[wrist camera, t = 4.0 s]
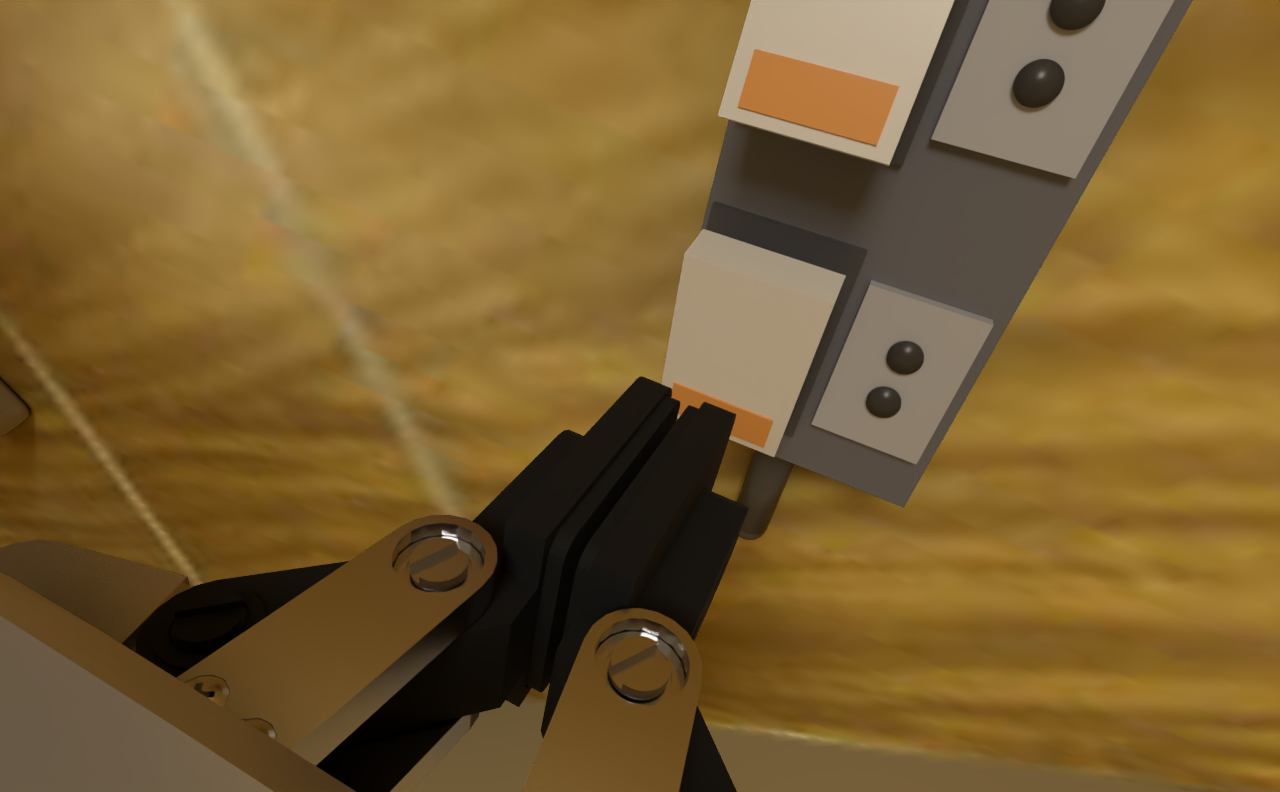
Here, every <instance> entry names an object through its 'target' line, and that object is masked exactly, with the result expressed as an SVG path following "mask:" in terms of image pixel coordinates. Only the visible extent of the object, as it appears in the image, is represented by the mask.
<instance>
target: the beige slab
mask: <svg viewBox="0 0 1280 792" xmlns="http://www.w3.org/2000/svg"><path fill="white" fill-rule="evenodd" d="M28 416H29V410H28V408H27V406H26V405H25V404H24V403H23V402H22V401H21V400H20V399H19V398H18V397H17V396H16V394H15V393H14V392H13V391H12V390H11V389H10V388H9V387H8V386H7V385H6V384H5V383H4V382H3V381H2V380H1V379H0V437H1V436H3V435H5V434H6V433H8V432H9V431H10V430H12V429H13V428H15V427H16V426H18V425H19V424H21V423H22V422H23V421H24V420H25V419H26V418H27V417H28Z"/></svg>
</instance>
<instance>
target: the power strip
mask: <svg viewBox="0 0 1280 792" xmlns="http://www.w3.org/2000/svg"><path fill="white" fill-rule="evenodd" d="M1192 1H1193V0H955V1H954V3H953V6H952V8H951V11H950V13H949V16H948V18H947V21H946V23H945V26H944V28H943V31H942V33H941V36H940V39H939V41H938V44H937V46H936V49H935V51H934V54H933V56H932V59H931V61H930V64H929V66H928V69H927V71H926V74H925V76H924V79H923V82H922V84H921V87H920V89H919V92H918V94H917V97H916V99H915V102H914V104H913V107H912V109H911V112H910V114H909V117H908V119H907V122H906V125H905V127H904V130H903V132H902V135H901V137H900V140H899V142H898V145H897V147H896V150H895V152H894V155H893V157H892V160H891V163H890V165H889V166H886V165H883V164H879V163H876V162H872V161H869V160H865V159H862V158H858V157H855V156H851V155H848V154H844V153H841V152H837V151H834V150H830V149H827V148H823V147H820V146H817V145H813V144H810V143H806V142H803V141H799V140H796V139H792V138H789V137H785V136H782V135H778V134H775V133H771V132H768V131H764V130H761V129H757V128H754V127H750V126H747V125H744V124H740V123H737V122H733V121H730V120H729V122H728V126H727V130H726V134H725V138H724V142H723V146H722V150H721V154H720V157H719V161H718V165H717V169H716V173H715V177H714V181H713V185H712V189H711V193H710V197H709V201H708V205H707V209H706V213H705V217H704V221H703V225H702V229H701V231H702V230H703V229H706V230H709V231H712V232H715V233H718V234H721V235H724V236H727V237H730V238H733V239H736V240H739V241H742V242H745V243H748V244H751V245H754V246H757V247H760V248H763V249H766V250H769V251H772V252H776V253H779V254H782V255H785V256H788V257H791V258H794V259H797V260H800V261H803V262H806V263H809V264H812V265H815V266H818V267H821V268H824V269H827V270H830V271H833V272H836V273H839V274H842V275H846V277H845V279H844V282H843V284H842V287H841V289H840V292H839V294H838V297H837V299H836V302H835V305H834V307H833V310H832V312H831V315H830V317H829V320H828V322H827V325H826V327H825V330H824V333H823V335H822V338H821V340H820V343H819V345H818V348H817V350H816V353H815V355H814V358H813V360H812V363H811V366H810V368H809V371H808V373H807V376H806V378H805V381H804V383H803V386H802V388H801V391H800V393H799V396H798V399H797V401H796V404H795V406H794V409H793V411H792V414H791V416H790V419H789V421H788V424H787V427H786V429H785V432H784V434H783V437H782V439H781V442H780V444H779V447H778V449H777V452H776V454H775V457H772V456H770V455H767V454H764V453H762V452H759V451H757V450H756V451H755V454H754V457H753V459H752V462H751V465H750V467H749V470H748V473H747V475H746V478H745V481H744V484H743V486H742V489H741V492H740V494H739V497H738V500H737V503H739V504H742V505H744V506H746V507H749V510H748V513H747V515H746V518H745V521H744V523H743V526H742V529H741V531H740V534H739V537H741V538H743V539H747V540H753V539H757V538H759V537H761V536H762V535H763V534H764V533H765V531H766V529H767V527H768V525H769V522H770V520H771V518H772V515H773V513H774V510H775V508H776V506H777V503H778V501H779V498H780V496H781V494H782V491H783V489H784V487H785V484H786V482H787V479H788V477H789V475H790V472H791V470H792V467H793V465H794V464H795V465H798V466H800V467H803V468H805V469H808V470H810V471H813V472H816V473H818V474H821V475H823V476H826V477H828V478H831V479H833V480H836V481H838V482H841V483H843V484H846V485H848V486H851V487H853V488H856V489H858V490H861V491H863V492H866V493H868V494H871V495H873V496H876V497H878V498H881V499H883V500H886V501H888V502H891V503H893V504H896V505H898V506H901V507H903V508H904V506H905V505H906V503H907V501H908V499H909V497H910V496H911V494H912V492H913V490H914V489H915V487H916V485H917V483H918V482H919V480H920V478H921V476H922V475H923V473H924V471H925V469H926V468H927V466H928V464H929V462H930V461H931V459H932V457H933V455H934V454H935V452H936V450H937V448H938V447H939V445H940V443H941V441H942V440H943V438H944V436H945V434H946V433H947V431H948V429H949V427H950V426H951V424H952V422H953V420H954V418H955V417H956V415H957V413H958V411H959V410H960V408H961V406H962V404H963V403H964V401H965V399H966V397H967V396H968V394H969V392H970V390H971V389H972V387H973V385H974V383H975V382H976V380H977V378H978V376H979V375H980V373H981V371H982V369H983V368H984V366H985V364H986V362H987V361H988V359H989V357H990V355H991V354H992V352H993V350H994V348H995V347H996V345H997V343H998V341H999V339H1000V338H1001V336H1002V334H1003V332H1004V331H1005V329H1006V327H1007V325H1008V324H1009V322H1010V320H1011V318H1012V317H1013V315H1014V313H1015V311H1016V310H1017V308H1018V306H1019V304H1020V303H1021V301H1022V299H1023V297H1024V296H1025V294H1026V292H1027V290H1028V289H1029V287H1030V285H1031V283H1032V282H1033V280H1034V278H1035V276H1036V275H1037V273H1038V271H1039V269H1040V268H1041V266H1042V264H1043V262H1044V261H1045V259H1046V257H1047V255H1048V253H1049V252H1050V250H1051V248H1052V246H1053V245H1054V243H1055V241H1056V239H1057V238H1058V236H1059V234H1060V232H1061V231H1062V229H1063V227H1064V225H1065V224H1066V222H1067V220H1068V218H1069V217H1070V215H1071V213H1072V211H1073V210H1074V208H1075V206H1076V204H1077V203H1078V201H1079V199H1080V197H1081V196H1082V194H1083V192H1084V190H1085V189H1086V187H1087V185H1088V183H1089V182H1090V180H1091V178H1092V176H1093V174H1094V173H1095V171H1096V169H1097V167H1098V166H1099V164H1100V162H1101V160H1102V159H1103V157H1104V155H1105V153H1106V152H1107V150H1108V148H1109V146H1110V145H1111V143H1112V141H1113V139H1114V138H1115V136H1116V134H1117V132H1118V131H1119V129H1120V127H1121V125H1122V124H1123V122H1124V120H1125V118H1126V117H1127V115H1128V113H1129V111H1130V110H1131V108H1132V106H1133V104H1134V103H1135V101H1136V99H1137V97H1138V95H1139V94H1140V92H1141V90H1142V88H1143V87H1144V85H1145V83H1146V81H1147V80H1148V78H1149V76H1150V74H1151V73H1152V71H1153V69H1154V67H1155V66H1156V64H1157V62H1158V60H1159V59H1160V57H1161V55H1162V53H1163V52H1164V50H1165V48H1166V46H1167V45H1168V43H1169V41H1170V39H1171V38H1172V36H1173V34H1174V32H1175V31H1176V29H1177V27H1178V25H1179V24H1180V22H1181V20H1182V18H1183V16H1184V15H1185V13H1186V11H1187V9H1188V8H1189V6H1190V4H1191V2H1192Z"/></svg>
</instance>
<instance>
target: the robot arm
mask: <svg viewBox="0 0 1280 792" xmlns="http://www.w3.org/2000/svg"><path fill="white" fill-rule="evenodd" d="M671 397H672V388H670V387H667V386H665V385H662V384H660V383H657V382H655V381H652V380H650V379H647V378H645V377H639V378H638V379H636V381H635V382H634V383H633V384H632V385H631V386H630V387H629V388H628V389H627V390H626V391H625V392H624V393H623V395H622V396H621V397H620V398H619V399H618V400H617V401H616V402H615V403H614V404H613V405H612V406H611V407H610V409H609V410H608V411H607V412H606V413H605V414H604V415H603V416H602V417H601V418H600V419H599V420H598V421H597V423H596V424H595V425H594V426H593V427H592V428H591V429H590V430H589V431H588V432H587V433H586V434H585V435H584V436H582V435H580V434H578V433H575V432H573V431H571V430H564V431H563V432H562V433H560V434H559V435H558V436H557V437H556V438H555V439H554V440H553V441H552V442H551V443H550V444H549V445H548V446H547V447H546V448H545V449H544V450H543V451H542V452H541V453H540V454H539V455H538V456H537V457H536V458H535V459H534V460H533V461H532V462H531V463H530V464H529V465H528V466H527V467H526V468H525V469H524V470H523V471H522V472H521V473H520V474H519V475H518V476H517V477H516V478H515V479H514V480H513V481H512V482H511V483H510V484H509V485H508V486H507V487H506V488H505V489H504V490H503V491H502V492H501V493H500V494H499V495H498V496H497V497H496V498H495V499H494V500H493V501H492V502H491V503H490V504H489V505H488V506H487V507H486V508H485V509H484V510H483V511H482V512H481V513H480V514H479V515H478V516H477V517H476V518H475V519H474V520H473V521H470V520H468V519H466V518H461V517H456V516H452V515H431V516H427V517H423V518H419V519H415V520H413V521H411V522H409V523H407V524H405V525H403V526H401V527H399V528H398V529H396V530H395V531H393V532H392V533H390V534H389V535H387V536H386V537H384V538H383V539H381V540H380V541H378V542H377V543H375V544H374V545H372V546H371V547H369V548H368V549H366V550H365V551H363V552H362V553H360V554H359V555H358V556H356V557H355V558H353V559H352V560H350V561H347V562H340V563H333V564H326V565H319V566H312V567H305V568H298V569H291V570H284V571H277V572H270V573H263V574H257V575H250V576H243V577H236V578H229V579H222V580H216V581H212V582H208V583H204V584H200V585H196V586H191V585H190V584H189V580H188V577H187V576H184V575H180V574H177V573H173V572H169V571H166V570H162V569H158V568H155V567H151V566H147V565H144V564H140V563H136V562H133V561H129V560H125V559H122V558H118V557H114V556H111V555H107V554H103V553H100V552H96V551H92V550H89V549H85V548H81V547H78V546H74V545H70V544H67V543H63V542H59V541H50V540H40V539H39V540H31V541H24V542H17V543H13V544H10V545H7V546H4V547H1V548H0V792H412V791H413V790H414V789H415V788H416V786H417V785H418V784H419V783H420V782H421V781H422V780H423V779H424V778H425V777H426V776H427V775H428V774H429V773H430V772H431V770H432V769H433V768H434V767H435V766H436V765H437V764H438V763H439V762H440V761H441V759H443V758H444V756H445V755H446V754H447V753H448V752H449V751H450V750H451V749H452V748H453V747H454V746H455V744H457V742H458V741H459V740H460V739H461V738H462V737H463V736H464V735H465V734H466V733H467V732H468V731H469V730H470V728H471V727H472V725H473V724H474V722H475V721H476V719H477V718H478V716H479V713H480V712H483V711H487V710H491V709H496V708H499V707H501V705H502V704H503V702H504V701H505V700H507V701H509V702H511V703H512V704H514V705H516V706H518V707H519V706H520V705H521V703H522V702H523V700H524V699H525V697H526V695H527V694H528V692H529V691H530V689H531V688H534V689H535V690H537V691H539V692H543V691H544V690H545V688H546V687H547V686H548V684H549V683H550V686H549V691H548V696H547V701H546V706H545V712H544V717H543V722H542V727H541V732H542V737H543V741H542V743H541V746H540V748H539V751H538V753H537V756H536V758H535V761H534V763H533V766H532V768H531V771H530V773H529V776H528V778H527V780H526V783H525V785H524V788H523V790H522V792H737V791H736V789H735V787H734V785H733V782H732V780H731V778H730V776H729V774H728V772H727V769H726V767H725V765H724V763H723V761H722V758H721V756H720V754H719V752H718V750H717V748H716V745H715V743H714V741H713V739H712V737H711V735H710V732H709V730H708V728H707V726H706V724H705V721H704V719H703V717H702V715H701V713H700V711H699V708H698V706H697V703H698V698H699V693H700V688H701V684H702V666H703V663H702V660H701V657H700V654H699V651H698V647H697V646H696V644H695V643H694V640H695V638H696V635H697V633H698V631H699V629H700V626H701V624H702V622H703V619H704V617H705V615H706V613H707V610H708V608H709V606H710V604H711V601H712V599H713V597H714V595H715V592H716V590H717V588H718V585H719V583H720V581H721V578H722V576H723V574H724V571H725V569H726V566H727V564H728V562H729V559H730V557H731V554H732V552H733V549H734V547H735V544H736V542H737V539H738V536H739V534H740V531H741V529H742V526H743V523H744V521H745V518H746V515H747V513H748V510H749V507H746V506H744V505H742V504H739V503H737V502H735V501H732V500H730V499H728V498H725V497H723V496H721V495H719V494H716V493H714V492H712V488H713V485H714V482H715V479H716V476H717V473H718V470H719V467H720V464H721V461H722V458H723V455H724V452H725V449H726V446H727V443H728V440H729V437H730V434H731V431H732V428H733V425H734V422H735V419H736V414H735V413H732V412H730V411H727V410H725V409H722V408H720V407H717V406H715V405H712V404H710V403H707V402H703V404H702V405H701V406H700V408H699V409H698V408H696V407H693V406H691V405H688V406H687V408H686V409H685V410H684V412H683V413H682V414H681V416H680V417H679V419H678V420H677V416H678V413H679V409H680V401H679V400H676V399H674V398H671ZM676 420H677V421H676Z"/></svg>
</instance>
